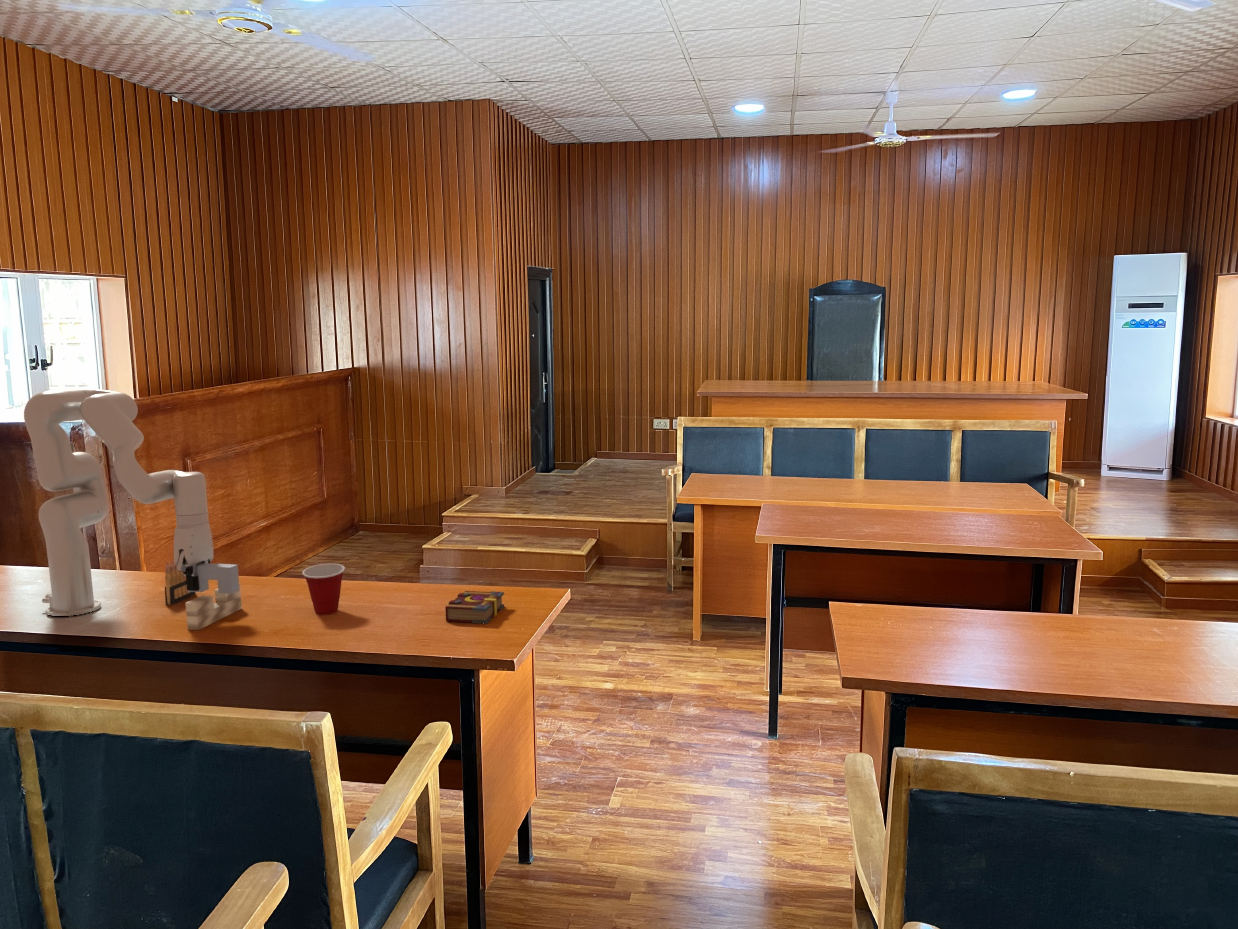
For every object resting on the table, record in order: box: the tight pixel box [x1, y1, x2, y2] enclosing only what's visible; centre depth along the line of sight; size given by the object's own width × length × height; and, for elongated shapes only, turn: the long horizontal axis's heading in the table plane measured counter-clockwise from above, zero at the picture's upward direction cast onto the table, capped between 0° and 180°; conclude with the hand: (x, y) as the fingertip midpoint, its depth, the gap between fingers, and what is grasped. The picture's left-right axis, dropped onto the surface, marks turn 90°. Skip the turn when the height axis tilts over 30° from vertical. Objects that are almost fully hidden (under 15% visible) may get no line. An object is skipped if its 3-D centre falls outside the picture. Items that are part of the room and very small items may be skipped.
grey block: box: [188, 562, 241, 594], centre depth 227 cm, size 13×3×7 cm, turn 79°
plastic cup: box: [301, 562, 346, 616], centre depth 233 cm, size 11×11×12 cm
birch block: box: [185, 583, 243, 631], centre depth 228 cm, size 18×3×7 cm, turn 169°
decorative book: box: [444, 590, 505, 625], centre depth 231 cm, size 11×16×5 cm
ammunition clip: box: [164, 560, 197, 606], centre depth 246 cm, size 11×2×12 cm, turn 171°
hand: (197, 587), depth 229 cm, fingers closed on grey block, 3 cm apart
